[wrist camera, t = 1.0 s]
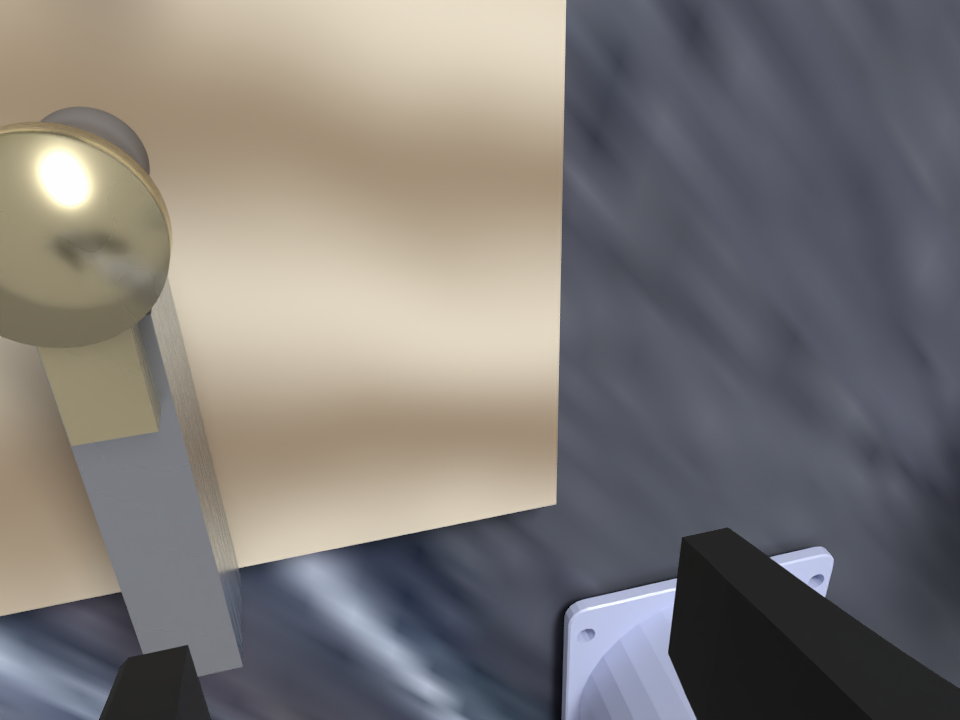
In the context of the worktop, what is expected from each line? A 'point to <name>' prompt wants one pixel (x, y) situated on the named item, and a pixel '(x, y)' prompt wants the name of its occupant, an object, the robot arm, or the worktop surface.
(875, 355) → the worktop surface
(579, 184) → the worktop surface
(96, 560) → the jamb board
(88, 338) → the lock bar
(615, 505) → the worktop surface
